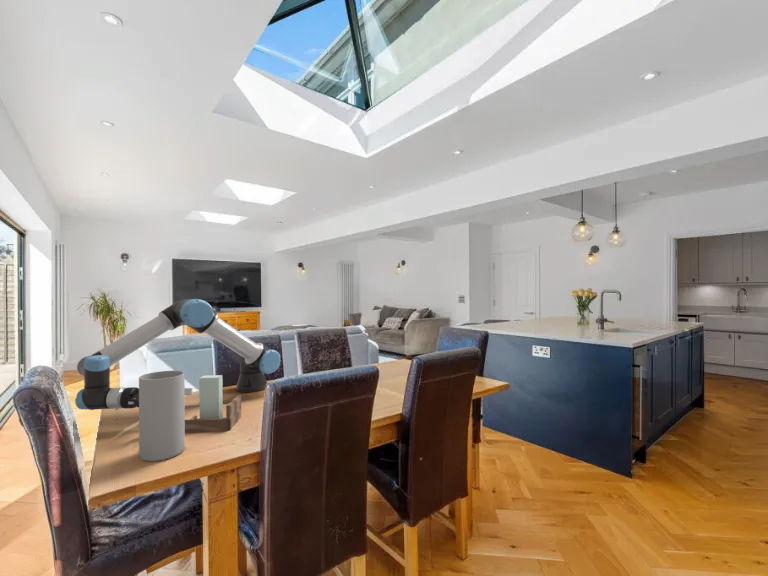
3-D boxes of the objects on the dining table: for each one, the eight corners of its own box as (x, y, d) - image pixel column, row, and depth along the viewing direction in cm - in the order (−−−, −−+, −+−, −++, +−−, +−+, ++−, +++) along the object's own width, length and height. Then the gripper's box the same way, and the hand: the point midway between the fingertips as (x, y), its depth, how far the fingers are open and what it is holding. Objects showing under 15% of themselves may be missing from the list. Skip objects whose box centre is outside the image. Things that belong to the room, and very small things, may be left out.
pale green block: (203, 422, 144) (203, 375, 144) (222, 422, 144) (222, 375, 144) (199, 426, 140) (199, 378, 140) (219, 425, 140) (218, 377, 140)
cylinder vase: (191, 452, 120) (190, 374, 120) (146, 466, 111) (146, 381, 111) (176, 442, 129) (176, 369, 129) (134, 454, 119) (133, 375, 119)
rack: (194, 421, 148) (194, 396, 148) (241, 420, 150) (241, 394, 150) (178, 435, 134) (177, 407, 134) (229, 433, 136) (229, 405, 136)
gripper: (143, 398, 152) (198, 396, 154) (102, 419, 127) (168, 417, 129) (143, 379, 152) (198, 378, 154) (102, 397, 127) (168, 395, 129)
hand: (184, 396), depth 141 cm, fingers open, 13 cm apart
